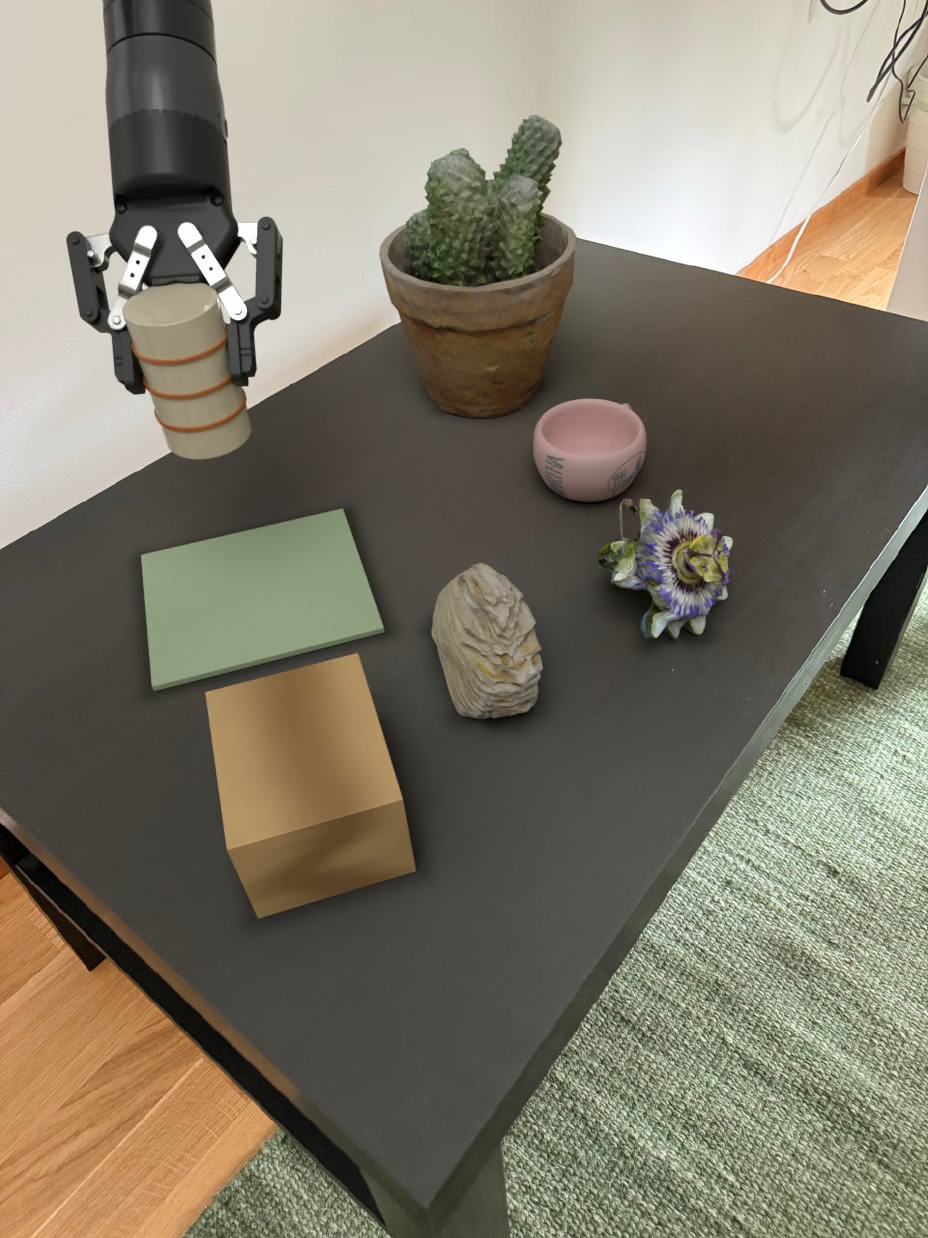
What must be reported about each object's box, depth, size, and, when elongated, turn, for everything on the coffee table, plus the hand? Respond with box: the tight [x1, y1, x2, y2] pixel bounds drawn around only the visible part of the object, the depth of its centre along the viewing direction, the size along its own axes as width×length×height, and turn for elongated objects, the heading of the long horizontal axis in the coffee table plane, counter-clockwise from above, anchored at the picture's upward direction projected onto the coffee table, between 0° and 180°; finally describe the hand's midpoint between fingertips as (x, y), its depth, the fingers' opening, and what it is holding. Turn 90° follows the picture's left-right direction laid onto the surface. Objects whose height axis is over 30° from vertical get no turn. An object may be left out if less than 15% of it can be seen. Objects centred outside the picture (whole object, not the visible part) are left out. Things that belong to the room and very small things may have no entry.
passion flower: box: [596, 489, 736, 641], centre depth 71 cm, size 11×11×12 cm
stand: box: [204, 652, 417, 920], centre depth 59 cm, size 10×12×8 cm
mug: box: [532, 398, 647, 503], centre depth 84 cm, size 12×10×6 cm
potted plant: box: [378, 114, 578, 419], centre depth 88 cm, size 18×19×25 cm
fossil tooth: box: [431, 562, 544, 720], centre depth 66 cm, size 12×6×15 cm
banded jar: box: [122, 282, 253, 460], centre depth 62 cm, size 6×6×10 cm
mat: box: [140, 508, 386, 692], centre depth 77 cm, size 18×16×1 cm
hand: (188, 387), depth 61 cm, fingers closed on banded jar, 6 cm apart
